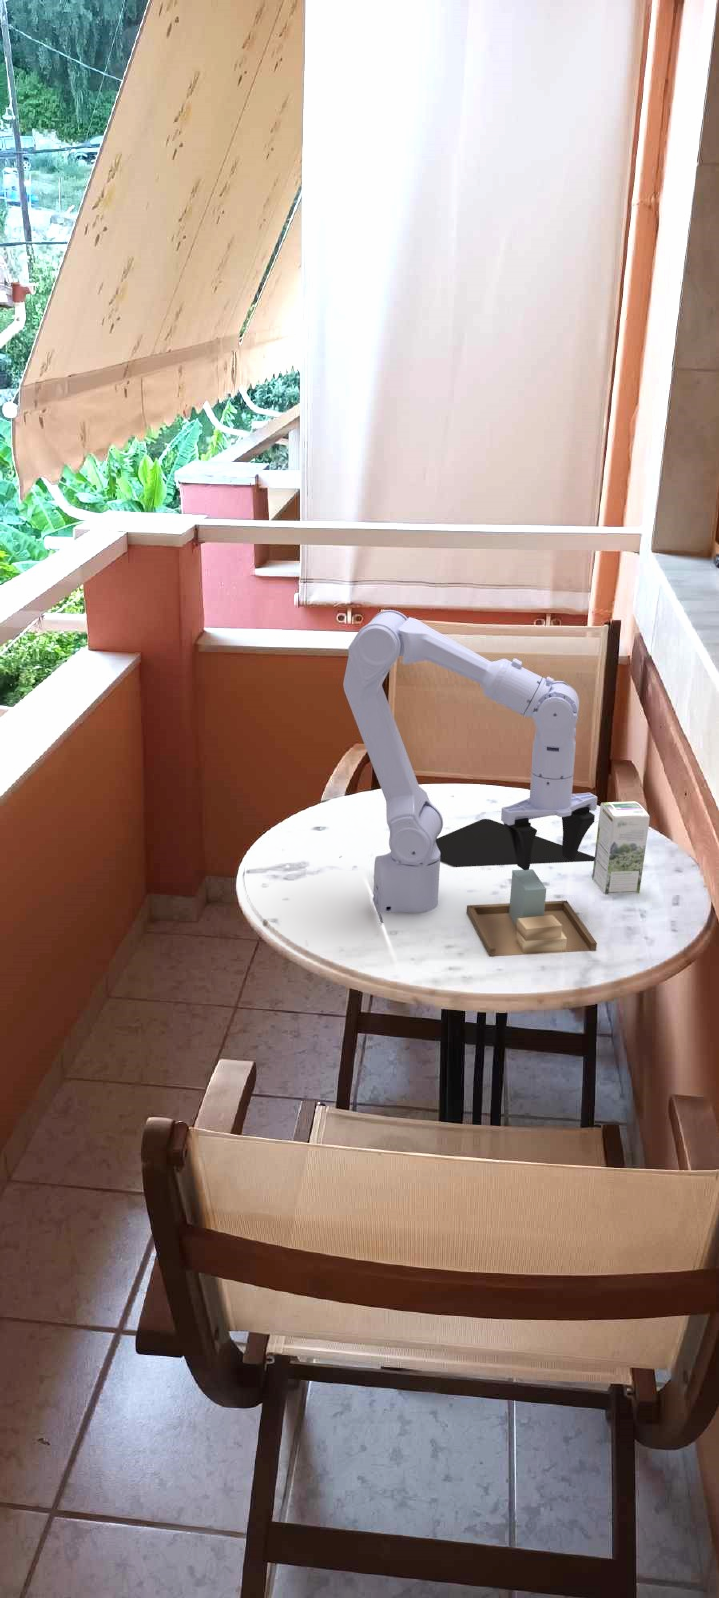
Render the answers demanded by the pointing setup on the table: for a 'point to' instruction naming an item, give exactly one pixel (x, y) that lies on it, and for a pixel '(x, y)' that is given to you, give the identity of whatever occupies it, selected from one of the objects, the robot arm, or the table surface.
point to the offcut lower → (542, 944)
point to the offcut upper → (539, 927)
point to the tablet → (495, 847)
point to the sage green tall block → (526, 895)
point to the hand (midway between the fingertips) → (545, 862)
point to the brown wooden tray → (502, 930)
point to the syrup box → (620, 847)
